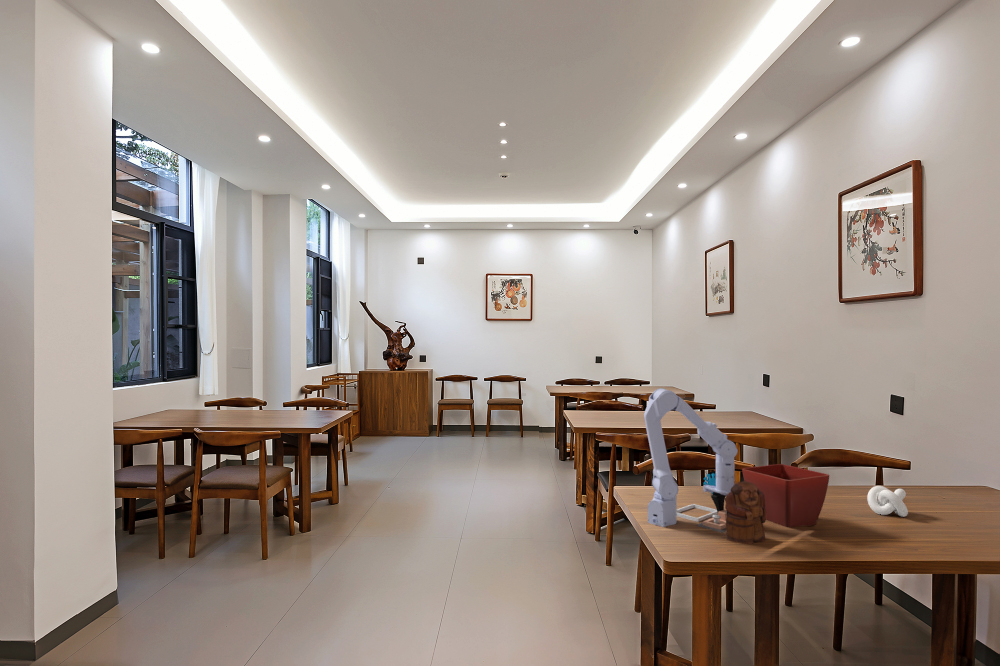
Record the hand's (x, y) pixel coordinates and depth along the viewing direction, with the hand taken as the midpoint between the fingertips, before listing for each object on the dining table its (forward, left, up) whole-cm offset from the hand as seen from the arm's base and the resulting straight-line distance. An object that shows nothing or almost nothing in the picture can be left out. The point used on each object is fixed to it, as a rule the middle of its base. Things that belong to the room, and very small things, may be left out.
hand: (725, 517), depth 181 cm
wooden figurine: (-11, -12, -3) cm, 16 cm away
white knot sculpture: (+55, -31, -3) cm, 64 cm away
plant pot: (+18, -11, -3) cm, 22 cm away
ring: (-4, 0, -1) cm, 4 cm away
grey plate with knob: (-6, 0, -2) cm, 6 cm away
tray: (0, +11, -2) cm, 11 cm away
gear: (+34, +21, -3) cm, 40 cm away
